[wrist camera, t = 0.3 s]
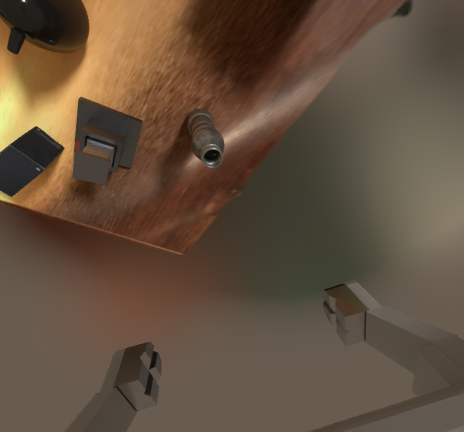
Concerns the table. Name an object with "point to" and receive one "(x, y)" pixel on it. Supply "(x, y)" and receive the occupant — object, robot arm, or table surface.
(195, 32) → the table surface
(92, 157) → the column
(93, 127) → the stand
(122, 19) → the table surface
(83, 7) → the pump dispenser
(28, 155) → the small box
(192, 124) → the plastic bottle
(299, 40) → the table surface
